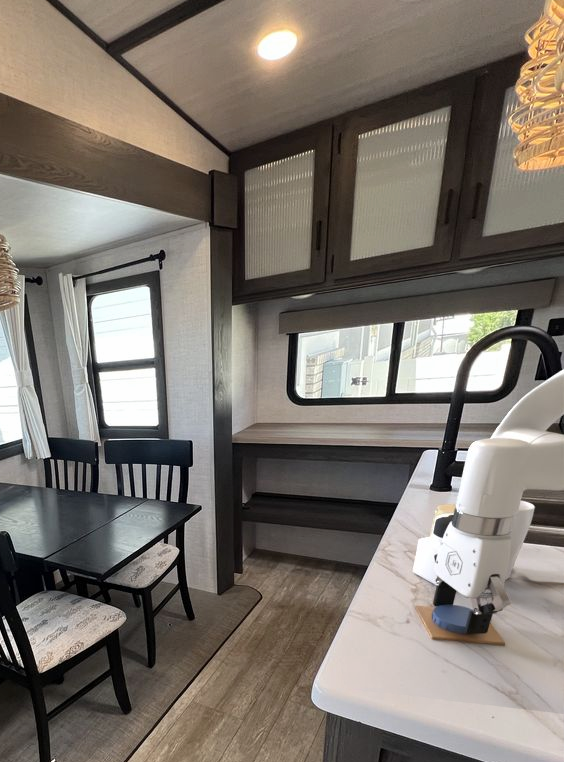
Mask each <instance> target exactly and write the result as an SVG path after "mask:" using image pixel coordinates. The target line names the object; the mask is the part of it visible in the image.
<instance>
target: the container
mask: <svg viewBox="0 0 564 762" xmlns="http://www.w3.org/2000/svg"><path fill="white" fill-rule="evenodd" d="M453 515H454V514H443V515H440V516H438V517H437V518H436V519H435V523H434V528H433V533H432V537H430V536H428V537H421V538H419V539H418V541H417V547H416V553H415V557H414V561H413V569H412V573H413V574H415V575H417V576H419V577H420V578H422V579H424V580H426V581H427V582H429V583H431V584H433V585H434V586H436V587H437V584H436V582H435V580H436V578H437V575H436V573H435V571H434V568H435V559H434V556H435V555H436V554H438V551H439V548H440V545H441V542H442V539H443V536H444V533H445V531H446V529H447V527H448V525H449V523H450V522H451V521H452V520H453Z"/></svg>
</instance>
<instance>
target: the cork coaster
mask: <svg viewBox="0 0 564 762" xmlns="http://www.w3.org/2000/svg"><path fill="white" fill-rule="evenodd" d="M435 607H436V606H429V605H415V607H414V608H415V610H416V612H417V614H418V616H419V617H420V619H421V622H422V623H423V625H424V626H425V629H426V631H427V634H428V635H429V636H430V639H431V640H439V641H452V642H464V643H475V644H485V645H486V644H487V645H499V646H505V645H506V641H505V639H504V638H503V637H502V636H501V635H500V634H499V632H498V631H497V629H496V628H495V627H494V626H493V624H492V623H491V622H490V625H489V628H488V632H487V633H483V634H459V633H454V632H451V631H448V630H445V629H443V628H441V627H439V626H438V625H436V624H435V623H434V622H433V620H432V613H433V611H434V608H435ZM471 609H472V610H473V608H471Z"/></svg>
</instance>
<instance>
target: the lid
mask: <svg viewBox="0 0 564 762" xmlns="http://www.w3.org/2000/svg"><path fill="white" fill-rule="evenodd" d="M434 607H435V608H434V611H433V613H432V620H433V622H434V623H435V624H436V625H438V626H439V627H441V628H443V629H445V630H448V631H451V632H454V633H459V634H467V633H466V632H465V627H466V623H467V619H468V615H469V612H470V611H473V610H472V609H473V608H469V607H466V606H463V605H459V604H453V605H440V606H434Z"/></svg>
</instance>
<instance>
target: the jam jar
mask: <svg viewBox="0 0 564 762" xmlns="http://www.w3.org/2000/svg"><path fill="white" fill-rule="evenodd" d="M455 507H456V504H450V503H449V504H447V503H446V504H441V505H439V506H437V507H436V510H435V511H434V514H433V519H432V523H431V527H430V528H431V529H430V534H429V537H432V533H433V528H434V523H435V519H436V518H437V517H438V516H440V515H443V514H454V510H455Z"/></svg>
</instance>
